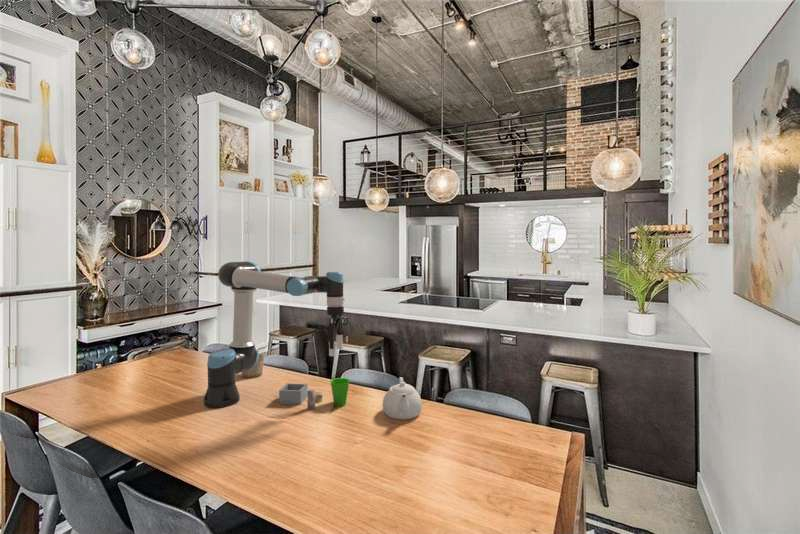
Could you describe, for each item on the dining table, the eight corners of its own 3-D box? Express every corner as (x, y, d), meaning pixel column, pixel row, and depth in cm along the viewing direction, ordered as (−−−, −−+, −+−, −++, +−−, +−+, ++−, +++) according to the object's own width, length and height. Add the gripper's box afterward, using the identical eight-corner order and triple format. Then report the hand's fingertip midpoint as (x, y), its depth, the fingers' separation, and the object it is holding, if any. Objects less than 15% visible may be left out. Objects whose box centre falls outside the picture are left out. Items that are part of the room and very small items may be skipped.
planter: (259, 379, 217) (259, 360, 217) (236, 378, 218) (236, 359, 217) (267, 372, 230) (267, 354, 230) (245, 371, 230) (245, 354, 230)
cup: (351, 401, 186) (351, 378, 185) (347, 408, 177) (347, 384, 176) (332, 400, 186) (333, 377, 186) (327, 408, 177) (327, 383, 177)
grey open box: (279, 405, 180) (279, 390, 179) (287, 397, 189) (287, 383, 189) (300, 406, 179) (300, 391, 179) (307, 398, 189) (307, 383, 188)
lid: (293, 416, 169) (293, 395, 169) (302, 405, 181) (302, 386, 180) (320, 417, 168) (320, 396, 168) (328, 406, 180) (328, 387, 180)
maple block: (313, 404, 182) (313, 395, 182) (313, 401, 186) (312, 392, 186) (322, 403, 183) (322, 394, 183) (321, 400, 187) (321, 392, 187)
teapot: (432, 412, 174) (432, 381, 173) (403, 425, 160) (403, 392, 160) (400, 401, 186) (401, 372, 186) (372, 412, 173) (372, 381, 172)
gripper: (336, 309, 167) (337, 359, 168) (349, 302, 192) (349, 346, 193) (319, 309, 168) (320, 359, 169) (333, 302, 193) (334, 345, 193)
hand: (336, 352), depth 181 cm, fingers open, 13 cm apart
